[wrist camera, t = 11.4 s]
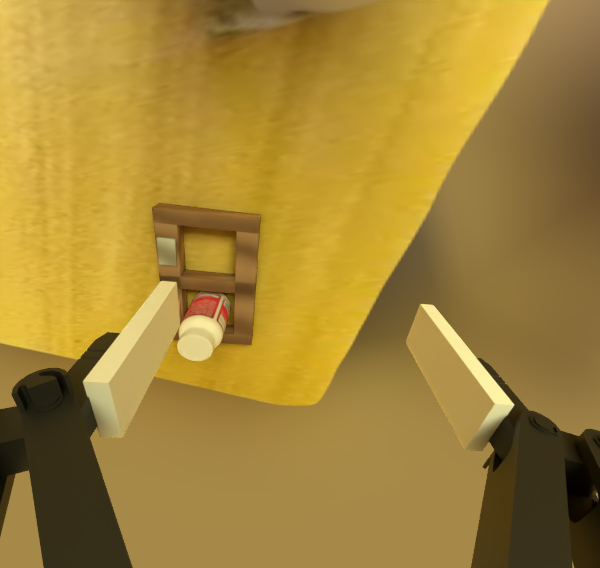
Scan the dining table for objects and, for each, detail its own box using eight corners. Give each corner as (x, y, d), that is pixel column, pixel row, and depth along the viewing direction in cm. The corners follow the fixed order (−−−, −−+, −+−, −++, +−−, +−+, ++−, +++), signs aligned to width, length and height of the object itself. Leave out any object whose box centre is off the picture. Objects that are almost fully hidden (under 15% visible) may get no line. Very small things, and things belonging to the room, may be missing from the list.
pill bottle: (185, 303, 49) (161, 348, 39) (210, 281, 47) (190, 322, 37) (214, 325, 51) (198, 372, 41) (239, 304, 49) (228, 349, 40)
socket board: (159, 203, 41) (150, 208, 38) (260, 214, 42) (259, 220, 40) (171, 329, 51) (165, 340, 49) (252, 335, 53) (250, 346, 50)
